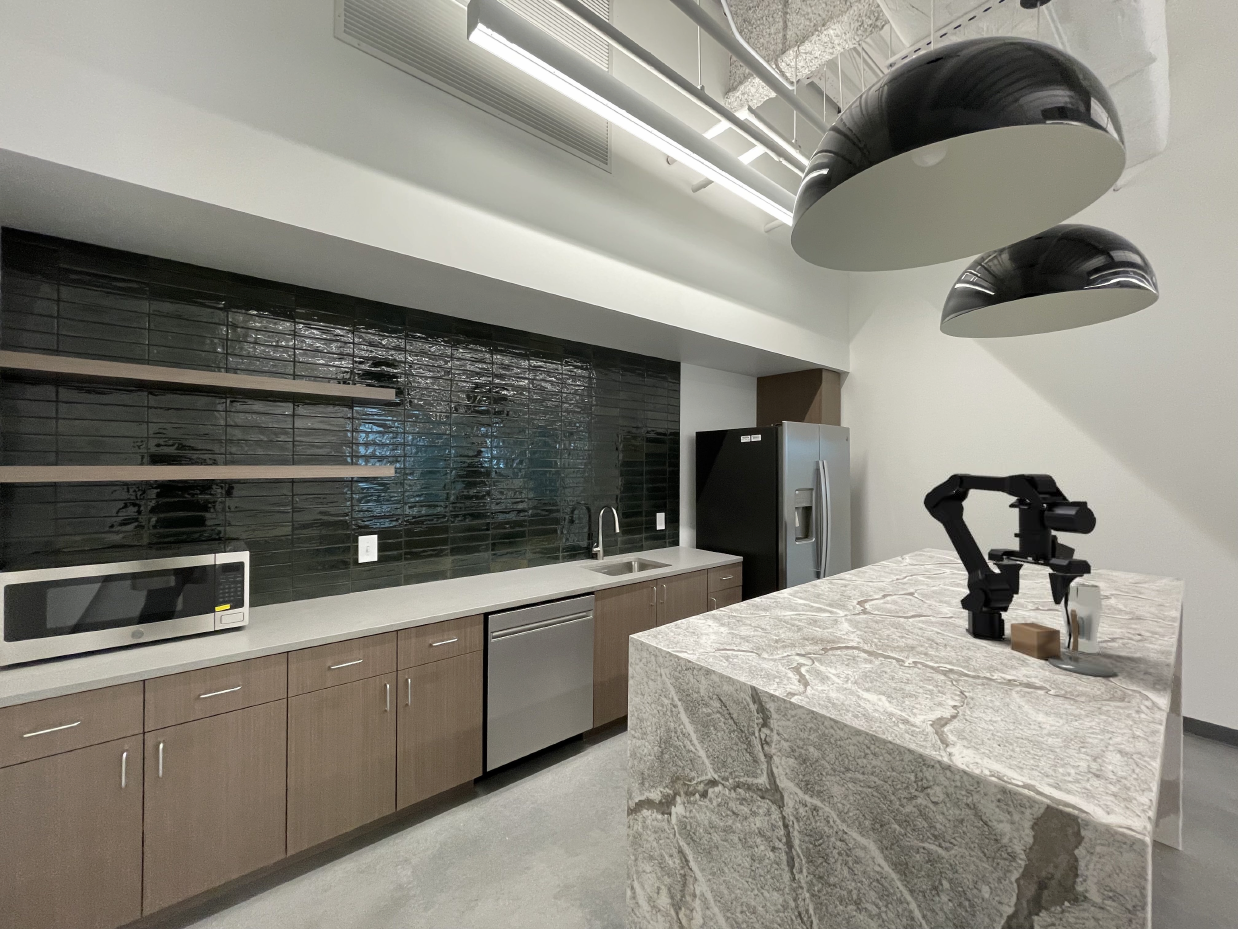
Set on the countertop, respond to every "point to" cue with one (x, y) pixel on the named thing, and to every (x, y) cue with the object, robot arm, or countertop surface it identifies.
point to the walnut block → (1035, 640)
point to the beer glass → (1082, 617)
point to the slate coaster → (1081, 666)
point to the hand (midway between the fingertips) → (1035, 599)
